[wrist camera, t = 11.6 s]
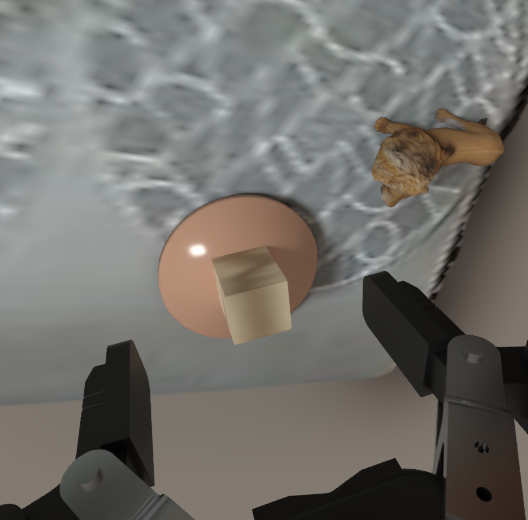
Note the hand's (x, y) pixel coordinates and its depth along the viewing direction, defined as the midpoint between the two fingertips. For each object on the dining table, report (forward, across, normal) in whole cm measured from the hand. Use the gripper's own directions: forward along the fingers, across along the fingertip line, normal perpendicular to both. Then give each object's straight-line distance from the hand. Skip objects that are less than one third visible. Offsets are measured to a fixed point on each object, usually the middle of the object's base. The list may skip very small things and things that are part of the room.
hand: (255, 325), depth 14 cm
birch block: (+20, -2, +12) cm, 24 cm away
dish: (+22, -2, +12) cm, 25 cm away
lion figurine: (+23, -20, +4) cm, 30 cm away
